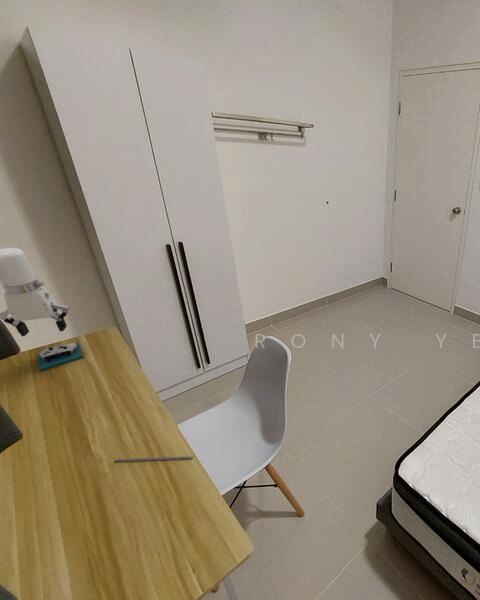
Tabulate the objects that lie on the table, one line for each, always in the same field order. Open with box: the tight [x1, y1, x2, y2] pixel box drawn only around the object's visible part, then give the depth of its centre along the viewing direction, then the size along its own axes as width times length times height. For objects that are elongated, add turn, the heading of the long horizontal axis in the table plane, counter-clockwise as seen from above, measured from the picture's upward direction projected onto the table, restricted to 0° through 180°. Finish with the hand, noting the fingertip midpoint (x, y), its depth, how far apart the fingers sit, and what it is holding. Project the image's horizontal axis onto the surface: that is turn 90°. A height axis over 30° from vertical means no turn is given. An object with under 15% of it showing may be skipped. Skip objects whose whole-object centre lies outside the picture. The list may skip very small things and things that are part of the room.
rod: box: [113, 456, 194, 463], centre depth 85 cm, size 1×19×1 cm, turn 95°
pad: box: [36, 342, 84, 372], centre depth 118 cm, size 11×11×1 cm
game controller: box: [38, 342, 77, 362], centre depth 117 cm, size 10×5×6 cm
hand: (44, 331), depth 112 cm, fingers open, 9 cm apart
